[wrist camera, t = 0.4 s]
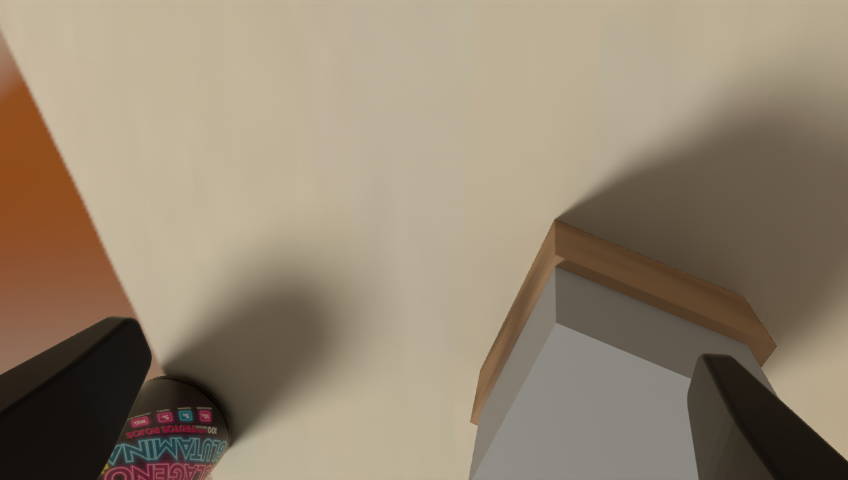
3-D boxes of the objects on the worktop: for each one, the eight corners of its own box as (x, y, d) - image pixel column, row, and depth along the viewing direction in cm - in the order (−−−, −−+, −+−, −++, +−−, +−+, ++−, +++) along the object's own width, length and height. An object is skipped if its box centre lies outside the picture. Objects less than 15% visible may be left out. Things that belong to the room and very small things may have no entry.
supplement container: (237, 470, 32) (129, 629, 24) (141, 445, 33) (5, 592, 25) (236, 382, 30) (116, 525, 21) (133, 359, 31) (-21, 488, 22)
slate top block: (647, 484, 23) (665, 575, 19) (480, 413, 23) (466, 489, 19) (747, 344, 20) (791, 421, 16) (554, 266, 20) (556, 322, 16)
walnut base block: (643, 435, 26) (658, 503, 23) (481, 366, 27) (470, 422, 23) (741, 293, 23) (776, 346, 20) (554, 216, 24) (555, 254, 20)
